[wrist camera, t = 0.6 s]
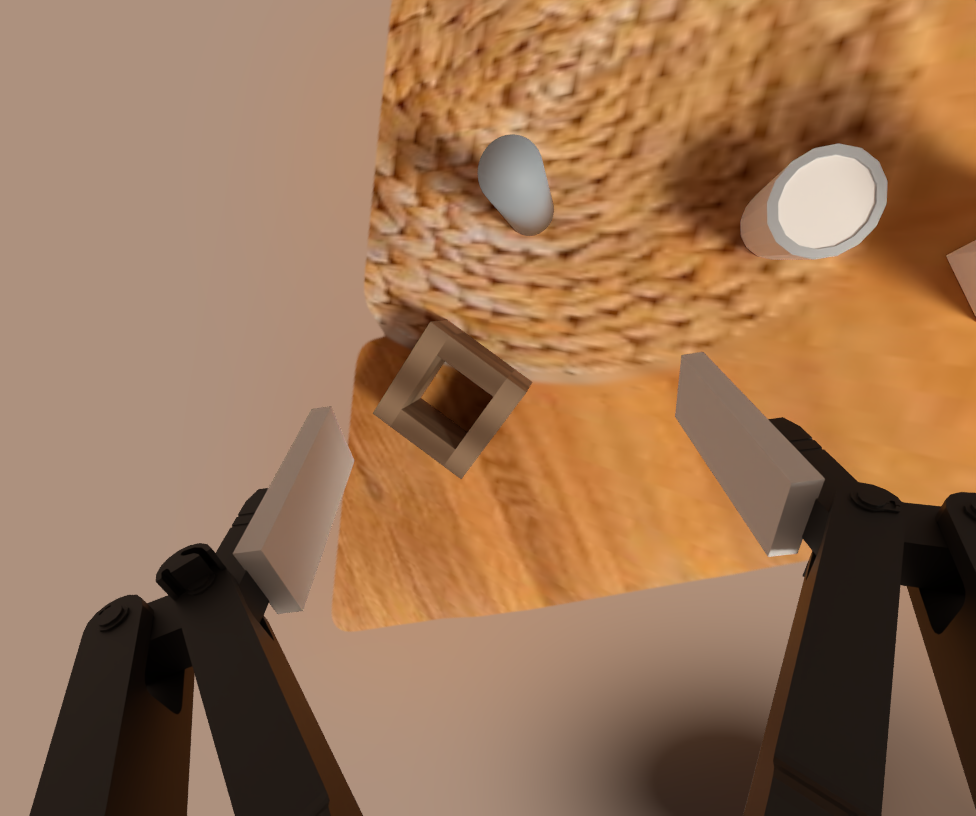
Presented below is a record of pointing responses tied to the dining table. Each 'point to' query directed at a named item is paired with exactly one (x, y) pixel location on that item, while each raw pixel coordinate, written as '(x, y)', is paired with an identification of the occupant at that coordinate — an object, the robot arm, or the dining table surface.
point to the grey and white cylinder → (816, 205)
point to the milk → (965, 270)
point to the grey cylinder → (517, 183)
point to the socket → (429, 424)
